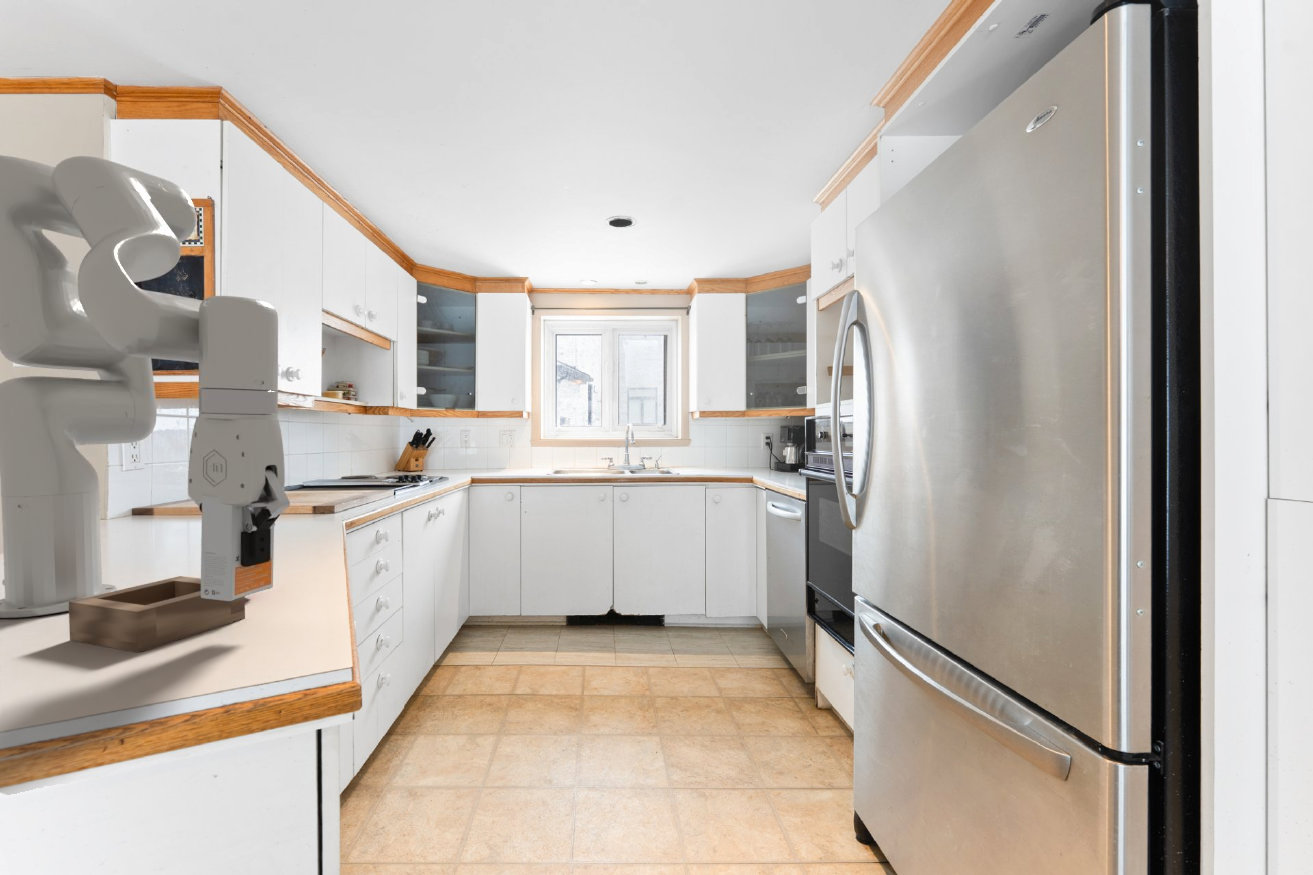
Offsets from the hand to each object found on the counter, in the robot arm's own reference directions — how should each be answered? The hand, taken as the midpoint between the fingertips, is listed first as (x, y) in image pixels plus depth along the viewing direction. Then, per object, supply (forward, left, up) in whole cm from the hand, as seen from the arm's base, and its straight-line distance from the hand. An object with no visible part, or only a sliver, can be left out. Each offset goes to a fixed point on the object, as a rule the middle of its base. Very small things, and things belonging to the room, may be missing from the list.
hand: (239, 559), depth 70 cm
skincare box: (0, 0, -4) cm, 4 cm away
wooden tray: (-12, -1, -9) cm, 15 cm away
